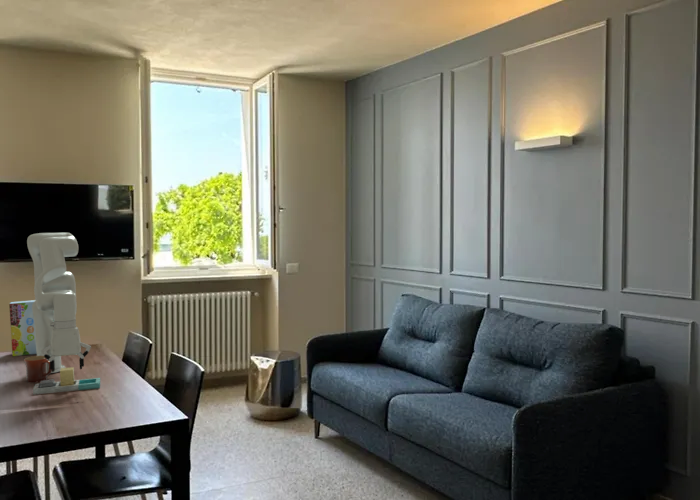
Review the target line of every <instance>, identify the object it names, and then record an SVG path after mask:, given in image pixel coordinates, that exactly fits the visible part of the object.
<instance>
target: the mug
mask: <svg viewBox="0 0 700 500" xmlns="http://www.w3.org/2000/svg"><path fill="white" fill-rule="evenodd" d="M23 361H24V364H25V368H26V369H25V370H26V375H25V376H26V382H27V383H31V384H32V383H33V384H37V383H40V382H41V380H48V376H49V375H50V374H52V373H51V372H52V369H51V370H50V361H49V360H48V359H46V358H45V357H44V356H37V355H32V356H27V357H25V358H24V359H23ZM47 363H48V364H49V371H48V373H47V367H46V364H47Z"/></svg>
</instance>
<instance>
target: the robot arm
mask: <svg viewBox="0 0 700 500" xmlns="http://www.w3.org/2000/svg"><path fill="white" fill-rule="evenodd" d="M26 244H27V249H28V252H29V255H30V257H31V259H32V262H33V271H34V273H33V274H34V275H33V276H34V287H33V292H34V293H33V294H34V300H35V301H34V303H33V305H32V311H33V316H34V321H35V331H36V353H37V354H36V356H44V357H45V358H46V359H48V360H49V361H50V370H51V369H52V372H51V373H50V374H54V373H55V374H56V373H60V370H61V368H66V365H63V364H62V357H65V356H75V355H77V356H78V357H79V370H83V367H84V366H85V360H84V358H85V357H86V356H87V355H88V354H89V353H90V350H91V349H92V345H89V344H88V343H84V342H82V341H81V335H80V330H79V327H78V326H77V318H76V314H77V309H78V308H77V307H78V306H77V305H78V304H77V286H76V285H77V284H76V278H75V275H74V274H73V273H72V272H71V271H67V264H66V260H65V258H69V257H77V255H78V253H79V244H78V241H77V238H76V237H75V236H74V235H73V234H72V233H70V232H39V233H38V232H37V233H33V234H30V235H29V236H28V237H27V240H26ZM53 320H54V322H53ZM82 347H83V348H85V350H84V352H82V351H81V350H82ZM46 367H47V373H48V371H49V364H48V363H47V364H46Z"/></svg>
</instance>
